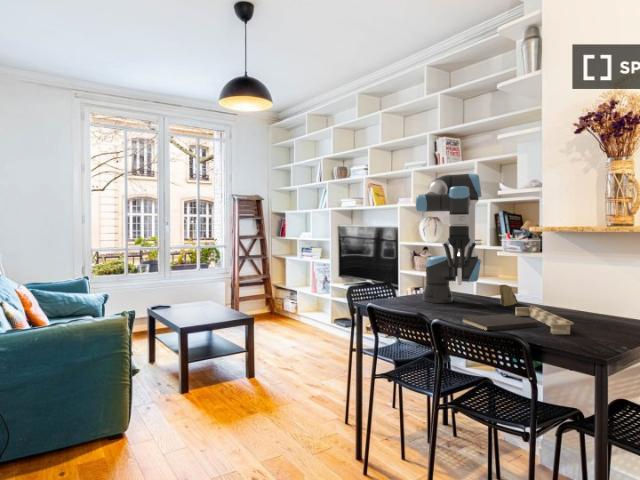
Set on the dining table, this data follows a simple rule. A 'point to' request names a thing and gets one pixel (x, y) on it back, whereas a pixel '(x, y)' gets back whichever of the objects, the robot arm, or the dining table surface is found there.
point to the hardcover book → (499, 322)
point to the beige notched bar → (546, 319)
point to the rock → (507, 296)
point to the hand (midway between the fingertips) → (458, 284)
